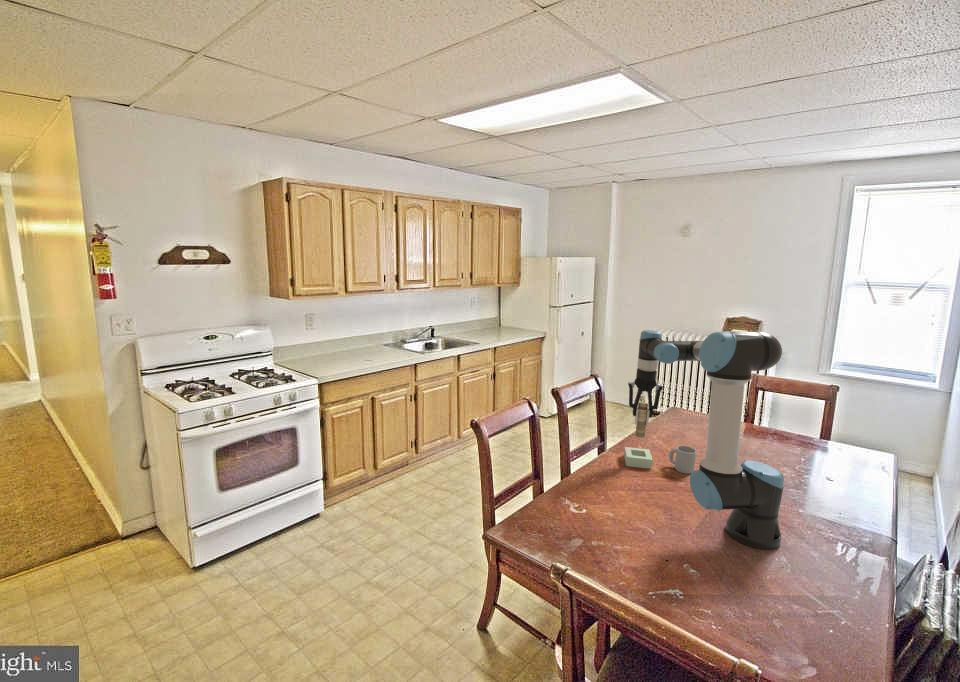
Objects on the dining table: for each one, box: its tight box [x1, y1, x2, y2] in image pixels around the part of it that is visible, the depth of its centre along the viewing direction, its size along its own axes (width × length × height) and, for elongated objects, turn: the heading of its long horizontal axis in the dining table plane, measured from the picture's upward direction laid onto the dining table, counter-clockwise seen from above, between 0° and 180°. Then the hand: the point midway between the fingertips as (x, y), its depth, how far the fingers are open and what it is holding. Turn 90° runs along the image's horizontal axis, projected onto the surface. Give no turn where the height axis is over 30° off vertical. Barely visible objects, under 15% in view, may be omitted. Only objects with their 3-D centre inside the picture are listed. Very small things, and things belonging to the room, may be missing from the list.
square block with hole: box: [623, 446, 654, 470], centre depth 197 cm, size 10×10×4 cm
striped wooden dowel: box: [634, 401, 649, 439], centre depth 194 cm, size 4×4×14 cm
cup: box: [668, 445, 697, 475], centre depth 192 cm, size 7×10×9 cm
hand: (641, 423), depth 195 cm, fingers closed on striped wooden dowel, 3 cm apart
